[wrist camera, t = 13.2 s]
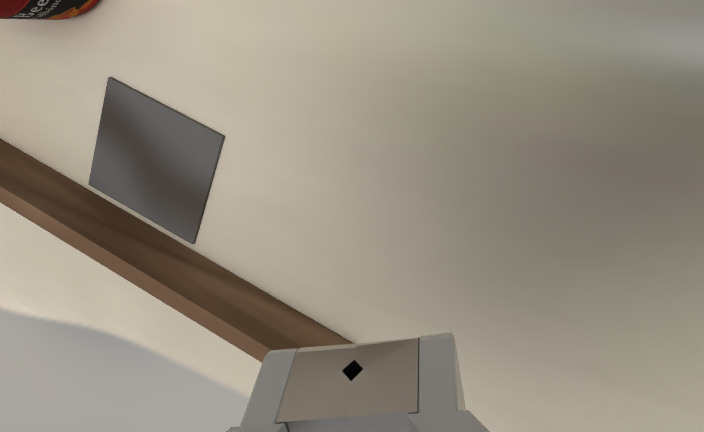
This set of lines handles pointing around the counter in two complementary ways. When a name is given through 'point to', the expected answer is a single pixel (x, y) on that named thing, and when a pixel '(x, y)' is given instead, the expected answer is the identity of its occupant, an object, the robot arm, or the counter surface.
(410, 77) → the counter surface
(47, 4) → the canned food
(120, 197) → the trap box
